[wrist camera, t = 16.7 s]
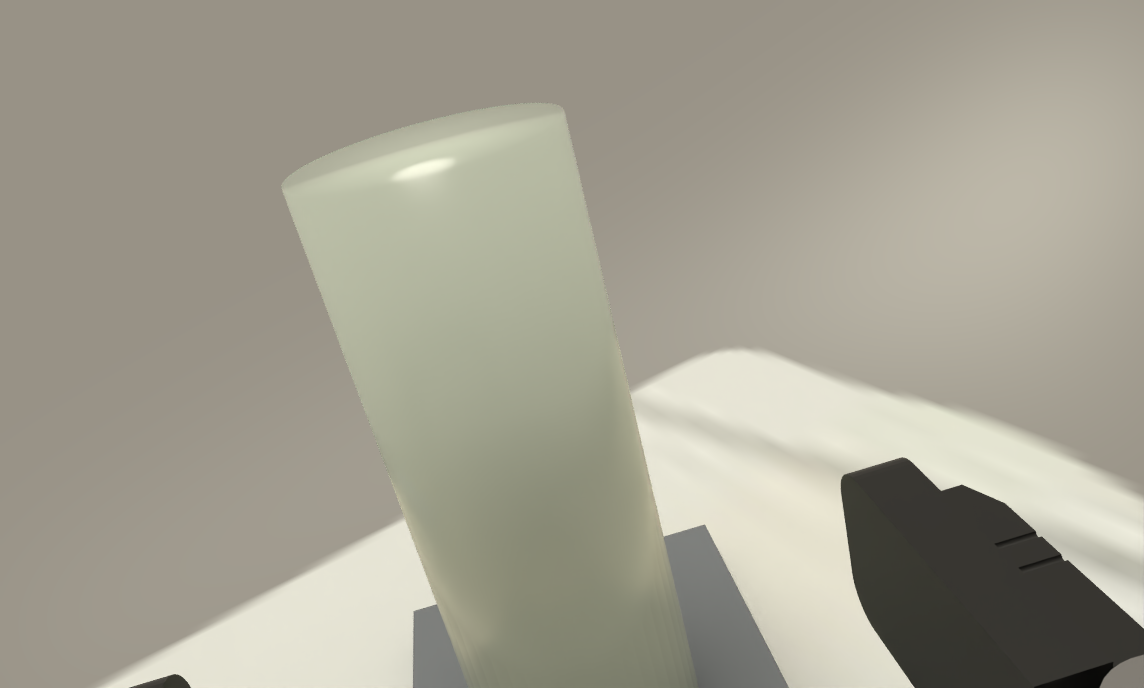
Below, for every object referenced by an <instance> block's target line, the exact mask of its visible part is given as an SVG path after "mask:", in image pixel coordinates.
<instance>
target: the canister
mask: <svg viewBox="0 0 1144 688" xmlns="http://www.w3.org/2000/svg"><path fill="white" fill-rule="evenodd" d="M281 188H282V191H283V194H284V197H285V199H286V202H287V204H288V207H289V210H290V212H291V215H292V218H293V221H294V223H295V226H296V229H297V231H298V234H299V237H300V239H301V242H302V245H303V247H304V250H305V253H306V255H307V258H308V261H309V263H310V266H311V269H312V271H313V274H314V277H315V279H316V282H317V285H318V287H319V290H320V293H321V295H322V298H323V301H324V303H325V306H326V309H327V311H328V314H329V317H330V319H331V322H332V325H333V327H334V330H335V333H336V336H337V338H338V341H339V344H340V346H341V349H342V352H343V354H344V357H345V360H346V362H347V365H348V368H349V370H350V373H351V375H352V378H353V381H354V383H355V386H356V389H357V392H358V394H359V397H360V400H361V402H362V405H363V408H364V410H365V413H366V416H367V418H368V421H369V424H370V426H371V429H372V432H373V434H374V437H375V440H376V442H377V445H378V448H379V450H380V453H381V456H382V458H383V461H384V464H385V466H386V469H387V472H388V474H389V477H390V480H391V483H392V485H393V488H394V491H395V493H396V496H397V499H398V501H399V504H400V507H401V509H402V512H403V515H404V517H405V520H406V523H407V525H408V528H409V531H410V533H411V536H412V539H413V541H414V544H415V547H416V549H417V552H418V555H419V557H420V560H421V563H422V565H423V568H424V571H425V573H426V576H427V579H428V581H429V584H430V587H431V589H432V592H433V595H434V597H435V600H436V603H437V605H438V608H439V611H440V614H441V616H442V619H443V622H444V624H445V627H446V630H447V632H448V635H449V638H450V640H451V643H452V646H453V648H454V651H455V654H456V656H457V659H458V662H459V664H460V667H461V670H462V672H463V675H464V678H465V680H466V683H467V686H468V688H699V687H698V682H697V678H696V674H695V669H694V665H693V661H692V657H691V652H690V648H689V644H688V639H687V635H686V631H685V627H684V622H683V618H682V614H681V609H680V605H679V601H678V597H677V592H676V588H675V584H674V579H673V575H672V571H671V566H670V562H669V558H668V554H667V549H666V545H665V541H664V536H663V532H662V528H661V524H660V519H659V515H658V511H657V506H656V502H655V498H654V494H653V489H652V485H651V481H650V476H649V472H648V468H647V464H646V459H645V455H644V451H643V446H642V442H641V438H640V434H639V429H638V425H637V421H636V416H635V412H634V408H633V404H632V399H631V395H630V391H629V386H628V382H627V378H626V374H625V369H624V365H623V361H622V356H621V352H620V348H619V343H618V339H617V335H616V331H615V327H614V322H613V318H612V314H611V309H610V305H609V301H608V297H607V293H606V288H605V283H604V279H603V275H602V271H601V267H600V262H599V258H598V253H597V250H596V245H595V241H594V237H593V232H592V228H591V223H590V220H589V215H588V211H587V207H586V202H585V198H584V193H583V189H582V185H581V181H580V177H579V172H578V168H577V163H576V159H575V155H574V151H573V146H572V143H571V138H570V133H569V129H568V125H567V121H566V116H565V112H564V109H563V108H562V107H560V106H558V105H554V104H548V103H523V104H512V105H504V106H497V107H491V108H484V109H479V110H474V111H469V112H463V113H459V114H454V115H450V116H445V117H442V118H437V119H433V120H429V121H426V122H421V123H418V124H414V125H411V126H407V127H404V128H400V129H397V130H394V131H390V132H387V133H384V134H381V135H378V136H375V137H372V138H369V139H366V140H364V141H361V142H358V143H355V144H353V145H350V146H347V147H345V148H342V149H340V150H337V151H335V152H332V153H330V154H328V155H326V156H324V157H321V158H319V159H317V160H315V161H313V162H311V163H309V164H307V165H306V166H304V167H302V168H300V169H299V170H297V171H295V172H294V173H293V174H291V175H290V176H289V177H287V178H286V180H285V181H284V182H283V183H282V186H281Z"/></svg>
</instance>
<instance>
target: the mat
mask: <svg viewBox="0 0 1144 688" xmlns="http://www.w3.org/2000/svg"><path fill="white" fill-rule="evenodd" d="M664 541H665V545H666V549H667V554H668V558H669V562H670V566H671V571H672V575H673V579H674V584H675V588H676V592H677V597H678V601H679V605H680V609H681V614H682V618H683V622H684V627H685V631H686V635H687V639H688V644H689V648H690V652H691V657H692V661H693V665H694V669H695V674H696V678H697V682H698V687H699V688H789V687H788V685H787V683H786V681H785V679H784V677H783V676H782V674H781V672H780V670H779V668H778V666H777V664H776V662H775V660H774V658H773V656H772V654H771V652H770V650H769V648H768V646H767V644H766V643H765V641H764V639H763V637H762V635H761V633H760V631H759V629H758V627H757V625H756V623H755V621H754V619H753V617H752V615H751V613H750V611H749V609H748V608H747V606H746V604H745V602H744V600H743V598H742V596H741V594H740V592H739V590H738V588H737V586H736V584H735V582H734V580H733V578H732V576H731V574H730V573H729V571H728V569H727V567H726V565H725V563H724V561H723V559H722V557H721V555H720V553H719V551H718V549H717V547H716V545H715V543H714V541H713V540H712V538H711V536H710V534H709V532H708V530H707V528H706V526H705V525H702V526H698V527H695V528H692V529H688V530H685V531H682V532H678V533H675V534H672V535H668V536H665V537H664ZM413 688H468V686H467V683H466V680H465V678H464V675H463V672H462V670H461V667H460V664H459V662H458V659H457V656H456V654H455V651H454V648H453V646H452V643H451V640H450V638H449V635H448V632H447V630H446V627H445V624H444V622H443V619H442V616H441V614H440V611H439V608H438V605H433V606H430V607H427V608H423V609H420V610H416V611H414V639H413Z"/></svg>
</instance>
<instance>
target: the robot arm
mask: <svg viewBox="0 0 1144 688" xmlns="http://www.w3.org/2000/svg"><path fill="white" fill-rule="evenodd" d="M841 495H842V502H843V509H844V516H845V523H846V530H847V538H848V545H849V552H850V559H851V566H852V573H853V579H854V583H855V587H856V591H857V594H858V597H859V600H860V602H861V605H862V607H863V609H864V612H865V614H866V616H867V618H868V620H869V622H870V623H871V625H872V627H873V628H874V630H875V631H876V633H877V634H878V636H879V637H880V639H881V640H882V641H883V643H884V644H885V646H886V647H887V649H888V650H889V651H890V653H891V654H892V656H893V657H894V659H895V660H896V662H897V663H898V664H899V666H900V667H901V669H902V670H903V672H904V673H905V674H906V676H907V677H908V679H909V680H910V682H911V683H912V684H913V686H914V687H915V688H1144V629H1143V628H1142V627H1141V626H1140V625H1139V624H1138V623H1137V622H1136V621H1135V620H1134V619H1132V618H1131V617H1130V616H1129V615H1128V614H1127V613H1126V612H1125V611H1124V610H1122V609H1121V608H1120V607H1119V606H1118V605H1117V604H1116V603H1115V602H1114V601H1112V600H1111V599H1110V598H1109V597H1108V596H1107V595H1106V594H1105V593H1104V592H1103V591H1101V590H1100V589H1099V588H1098V587H1097V586H1096V585H1095V584H1094V583H1093V582H1091V581H1090V580H1089V579H1088V578H1087V577H1086V576H1085V575H1084V574H1083V573H1081V572H1080V571H1079V570H1078V569H1077V568H1076V567H1075V566H1074V565H1073V564H1072V563H1070V562H1069V561H1068V560H1067V561H1064V560H1063V558H1062V556H1061V554H1060V553H1059V552H1058V551H1057V550H1056V549H1055V548H1054V547H1053V546H1052V545H1050V544H1049V543H1048V542H1047V541H1046V540H1045V539H1044V538H1043V537H1038V536H1037V534H1036V531H1035V530H1034V529H1033V528H1032V527H1031V526H1029V525H1028V524H1027V523H1026V522H1025V521H1024V520H1023V519H1022V518H1021V517H1019V516H1018V515H1017V514H1016V513H1015V512H1014V511H1013V510H1012V509H1011V508H1009V507H1008V506H1007V505H1006V504H1005V503H1003V502H1001V501H998V500H996V499H994V498H991V497H989V496H987V495H985V494H982V493H980V492H978V491H975V490H973V489H971V488H968V487H966V486H964V485H960V486H956V487H953V488H950V489H946V490H943V491H940V490H939V489H938V488H937V487H936V486H935V485H934V484H933V483H932V482H931V481H930V480H929V479H928V478H927V477H926V476H925V475H924V474H923V473H922V472H921V471H920V470H919V469H918V468H917V467H916V466H915V465H914V464H913V463H912V462H911V461H910V460H908V459H906V458H903V457H902V458H899V459H895V460H892V461H889V462H885V463H882V464H879V465H875V466H872V467H869V468H865V469H862V470H859V471H855V472H852V473H849V474H845V475H844V476H843V477H842V479H841ZM130 688H191V687H190V685H189V684H188V682H187V681H186V680H185V679H184V678H183V677H181V676H179V675H176V674H173V675H170V676H167V677H163V678H160V679H157V680H153V681H150V682H147V683H143V684H140V685H137V686H133V687H130Z"/></svg>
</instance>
